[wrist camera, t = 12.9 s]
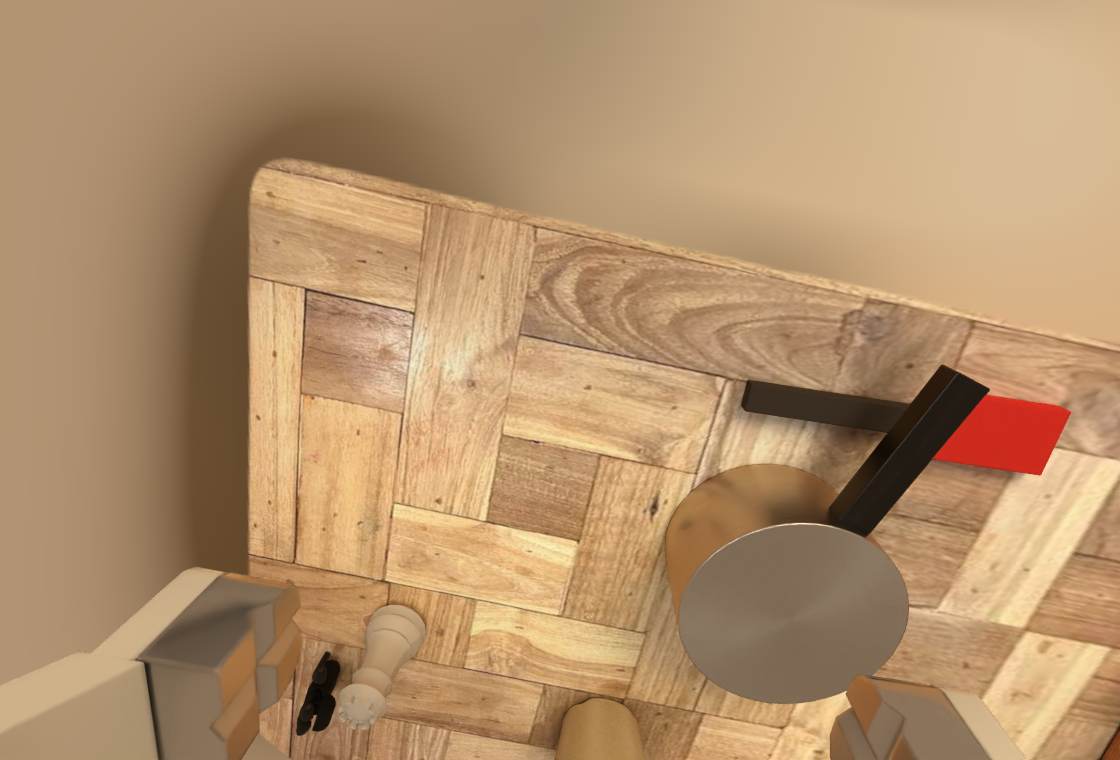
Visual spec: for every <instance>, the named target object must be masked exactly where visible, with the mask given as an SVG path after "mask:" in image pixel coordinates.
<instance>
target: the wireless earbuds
mask: <svg viewBox="0 0 1120 760" xmlns="http://www.w3.org/2000/svg"><path fill="white" fill-rule="evenodd" d="M330 655H331V652H329V651H326V652H325V654H324V656H323V657H322V659H321V661H320V662H319V664H318V666H317V667H316V669H315V671H314V673H313V675H312V679H313V681H312V683H311V685H310V686H309V688H308V691H307V695H306V698H305V701H304V704H303V706H302V708H301V710H300V713H299V716H298V719H297V729H296V733H297V735H298V736H301V735H303V734H305V733H306V732H307V731H308V730H309V729H310V727H311V721H310V720H311V719H312V718H313V716H314V715H317V717H316V720H315V723H314V726H313V729H312V730H313V731H316V732H318V731H322V730H324V729H325V728H326V727H327V726H328V725H329V723H330V720H331V717H332V714H333V711H334V709H335V705H336V701H335V698H334V697H333V696H332V695H331V693H332V691H333V689H334V687H335V684H336V681H337V678H338V675H339V672H340V665H339V663H338V662H337V661H335V660H328V658H329V657H330ZM327 660H328V661H327Z"/></svg>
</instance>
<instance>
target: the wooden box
mask: <svg viewBox="0 0 1120 760" xmlns="http://www.w3.org/2000/svg"><path fill="white" fill-rule="evenodd" d="M1102 760H1120V730H1119V732H1118V734H1117V735H1116V737H1115V739H1114V740H1113V742H1112V743H1111V745H1110V747H1109V748H1108V750H1107V751H1106V753H1105V755H1104V757H1103V758H1102Z"/></svg>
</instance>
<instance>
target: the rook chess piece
mask: <svg viewBox="0 0 1120 760" xmlns="http://www.w3.org/2000/svg"><path fill="white" fill-rule="evenodd" d="M425 635H426V631H425V625H424V623H423V621H422V619H421V617H420V615H419V614H418V613H417V612H416V611H414V610H413V609H412V608H410V607H407V606H405V605H399V604H392V605H389V606H385V607H382V608H379V609H378V610H377V611H376V612H375V613H374V614H373V615H372V617H371V620H370V623H369V624H368V627H367V629H366V633H365V638H366V654H365V657H364V660H363V663H362V665H361V667H360V669H359V670H358V671H356V672H355V673H354V675H353V677H352V684H351V685H348V686H347V687H345V688H344V689H343V690H342V691H341V693H340V695H339V703H340V707H339V709H338V712H341V713H340V715H339V717H338V718H339V719H340V721H341V722H342V723H343V722H345V721H346V719H347V718H348V719H349V720H350V721H351V722H350V724H349V726H348V728H351V729H354V730H355V729H356V727H357V725H358V724H362V726H361V728H362V731H363V730H367V729H369V727H370V725H371V724H372V725H374V723H375V721H376V720H378V719H379V718H380V717H382V716H383V715H384V714H385V712H386V709H387V704H386V699H385V697H386V696H387V695H388V694H390V691H391V689H392V684H391V682H392V679H393V678H394V676H395V675H396V673H397V671H398V670H399V668H400V666H401V665H403V664H404V663H405V662H406V661H408V660H409V659H410V658H411V657H413V656H414V655H415V654H416V653H417V652H418V650H419V648H420V645H421V643H422V642H423V640H424V638H425Z"/></svg>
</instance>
